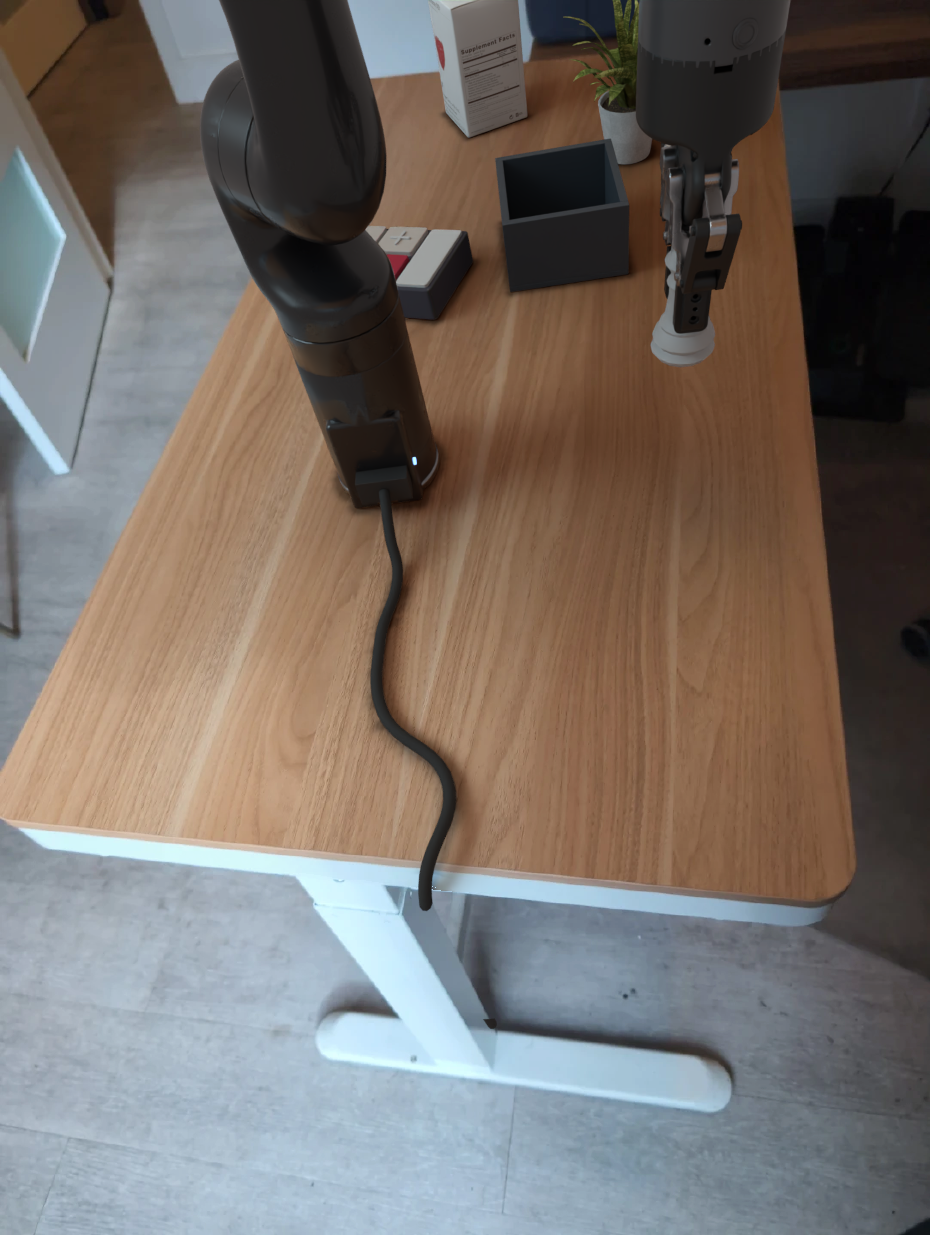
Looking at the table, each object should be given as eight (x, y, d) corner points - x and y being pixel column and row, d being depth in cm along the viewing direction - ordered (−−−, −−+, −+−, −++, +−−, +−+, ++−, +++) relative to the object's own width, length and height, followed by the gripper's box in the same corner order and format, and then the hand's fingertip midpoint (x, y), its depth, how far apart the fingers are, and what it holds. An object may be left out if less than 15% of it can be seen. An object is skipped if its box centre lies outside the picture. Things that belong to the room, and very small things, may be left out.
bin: (628, 274, 88) (629, 204, 82) (510, 292, 89) (502, 225, 83) (611, 206, 96) (610, 137, 90) (502, 223, 97) (495, 157, 91)
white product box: (443, 113, 115) (423, -15, 103) (503, 93, 116) (490, -37, 104) (467, 139, 110) (448, 8, 98) (529, 118, 111) (518, -15, 98)
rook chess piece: (724, 340, 60) (739, 234, 53) (697, 377, 58) (710, 271, 51) (666, 325, 62) (674, 221, 55) (639, 360, 60) (643, 256, 53)
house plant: (548, 140, 107) (538, -10, 93) (651, 110, 107) (656, -43, 94) (585, 192, 98) (580, 36, 85) (697, 160, 99) (709, -1, 85)
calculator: (348, 220, 95) (467, 223, 90) (359, 255, 99) (474, 260, 93) (303, 277, 90) (427, 284, 85) (317, 312, 94) (436, 320, 88)
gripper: (622, -14, 48) (617, 262, 62) (658, 93, 40) (643, 385, 53) (756, -36, 47) (721, 249, 61) (821, 69, 39) (763, 371, 53)
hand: (684, 311), depth 57 cm, fingers closed on rook chess piece, 3 cm apart
